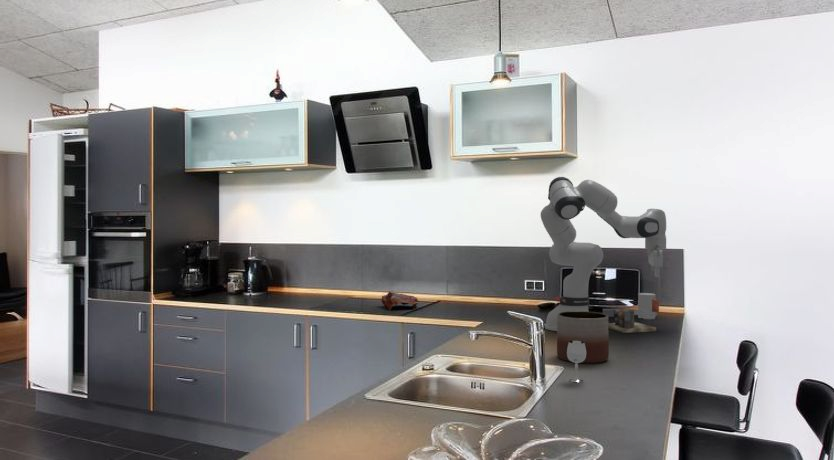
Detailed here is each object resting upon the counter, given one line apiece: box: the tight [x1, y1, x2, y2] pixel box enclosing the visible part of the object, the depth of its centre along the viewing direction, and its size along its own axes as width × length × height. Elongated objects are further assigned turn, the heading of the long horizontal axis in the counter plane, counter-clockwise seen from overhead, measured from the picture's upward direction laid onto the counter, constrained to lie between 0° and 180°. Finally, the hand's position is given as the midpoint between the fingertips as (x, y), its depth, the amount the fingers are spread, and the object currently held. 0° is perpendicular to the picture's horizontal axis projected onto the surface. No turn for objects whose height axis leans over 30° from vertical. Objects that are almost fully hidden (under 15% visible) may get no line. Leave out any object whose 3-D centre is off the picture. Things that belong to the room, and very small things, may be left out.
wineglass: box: [567, 341, 586, 384], centre depth 186 cm, size 6×6×12 cm
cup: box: [637, 292, 657, 320], centre depth 305 cm, size 8×8×12 cm
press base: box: [608, 309, 657, 334], centre depth 274 cm, size 16×15×9 cm
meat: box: [380, 290, 419, 311], centre depth 341 cm, size 21×21×10 cm
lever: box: [602, 298, 660, 318], centre depth 275 cm, size 24×4×8 cm, turn 76°
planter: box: [556, 311, 610, 364], centre depth 216 cm, size 18×18×16 cm
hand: (655, 275), depth 272 cm, fingers open, 8 cm apart
